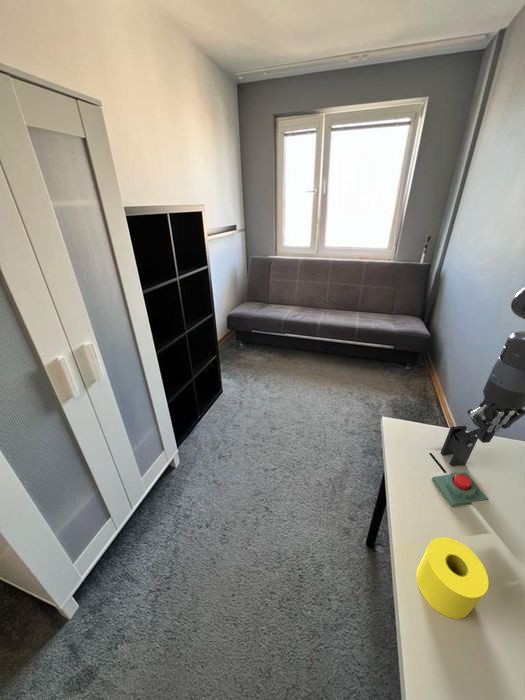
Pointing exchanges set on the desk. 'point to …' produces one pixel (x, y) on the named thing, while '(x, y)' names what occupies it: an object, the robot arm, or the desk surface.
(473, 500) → the switch block
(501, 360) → the robot arm
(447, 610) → the tape roll
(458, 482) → the button
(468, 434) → the lever
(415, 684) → the desk surface
